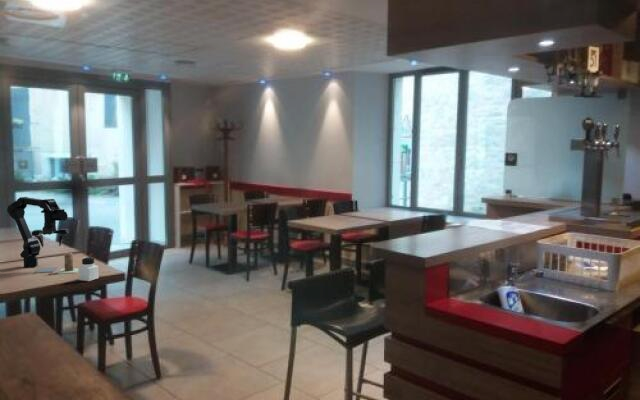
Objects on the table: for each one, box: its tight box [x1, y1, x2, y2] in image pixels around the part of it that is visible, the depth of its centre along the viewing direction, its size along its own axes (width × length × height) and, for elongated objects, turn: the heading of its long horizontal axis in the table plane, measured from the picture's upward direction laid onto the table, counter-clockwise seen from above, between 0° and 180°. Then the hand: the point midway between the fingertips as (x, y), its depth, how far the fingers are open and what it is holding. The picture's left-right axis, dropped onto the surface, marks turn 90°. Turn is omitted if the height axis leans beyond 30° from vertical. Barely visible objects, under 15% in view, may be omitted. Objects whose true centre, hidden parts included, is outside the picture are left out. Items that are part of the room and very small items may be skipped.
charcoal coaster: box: [33, 267, 58, 274], centre depth 291 cm, size 10×10×1 cm
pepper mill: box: [63, 252, 74, 271], centre depth 289 cm, size 4×4×10 cm
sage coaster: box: [57, 267, 79, 275], centre depth 289 cm, size 10×10×1 cm
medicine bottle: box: [77, 256, 99, 282], centre depth 272 cm, size 7×7×12 cm
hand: (51, 246), depth 296 cm, fingers open, 9 cm apart
